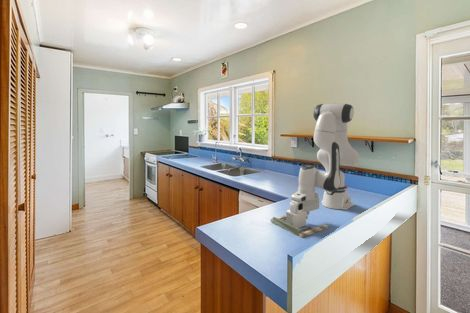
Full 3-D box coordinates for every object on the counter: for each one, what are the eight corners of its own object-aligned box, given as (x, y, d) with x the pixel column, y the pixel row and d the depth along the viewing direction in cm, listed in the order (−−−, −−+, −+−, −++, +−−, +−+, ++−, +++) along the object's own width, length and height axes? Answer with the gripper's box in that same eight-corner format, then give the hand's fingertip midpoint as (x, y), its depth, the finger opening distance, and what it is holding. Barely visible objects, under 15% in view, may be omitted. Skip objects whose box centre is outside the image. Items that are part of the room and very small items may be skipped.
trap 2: (309, 227, 129) (310, 226, 129) (314, 229, 126) (314, 228, 126) (297, 231, 123) (297, 231, 123) (301, 234, 121) (301, 233, 121)
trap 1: (290, 218, 140) (290, 218, 140) (294, 220, 138) (294, 219, 138) (277, 222, 135) (277, 221, 135) (281, 224, 132) (281, 223, 132)
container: (295, 220, 137) (295, 198, 135) (306, 225, 131) (307, 202, 129) (285, 224, 133) (286, 201, 131) (296, 229, 126) (297, 205, 124)
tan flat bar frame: (295, 214, 146) (295, 210, 146) (327, 228, 128) (327, 222, 128) (270, 221, 135) (270, 216, 135) (301, 237, 117) (301, 231, 117)
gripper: (313, 190, 141) (312, 213, 143) (288, 196, 129) (287, 221, 131) (323, 193, 136) (321, 217, 137) (297, 199, 124) (296, 225, 126)
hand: (304, 219), depth 134 cm, fingers closed
